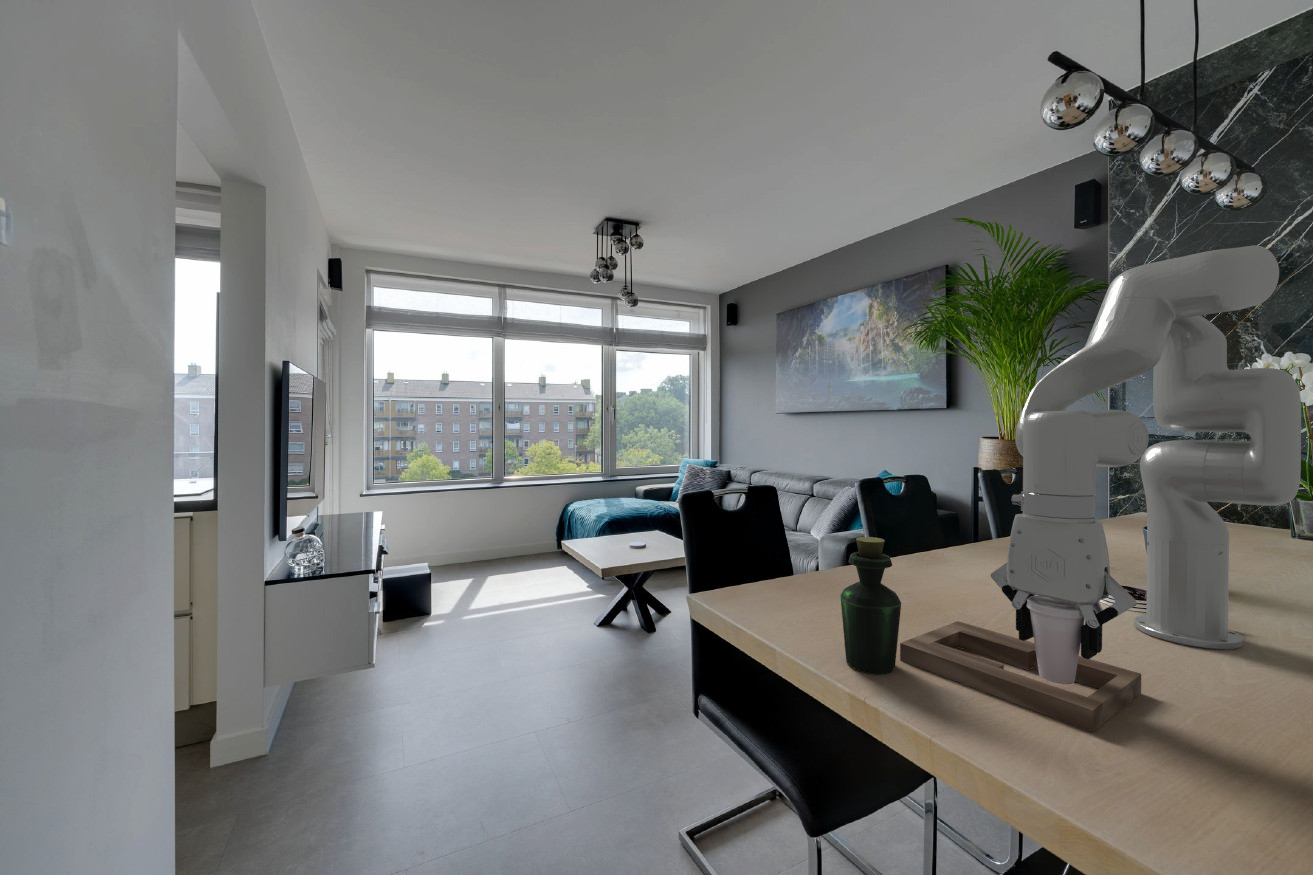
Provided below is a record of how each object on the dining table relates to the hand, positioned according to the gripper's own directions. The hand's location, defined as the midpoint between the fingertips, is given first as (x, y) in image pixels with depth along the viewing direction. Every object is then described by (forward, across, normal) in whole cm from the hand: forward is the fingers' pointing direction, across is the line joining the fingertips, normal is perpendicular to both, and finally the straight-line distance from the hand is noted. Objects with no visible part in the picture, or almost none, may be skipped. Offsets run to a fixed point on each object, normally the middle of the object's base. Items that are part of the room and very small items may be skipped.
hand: (1056, 645), depth 70 cm
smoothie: (+4, 0, 0) cm, 4 cm away
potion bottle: (+6, -18, -13) cm, 23 cm away
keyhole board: (+6, -5, 0) cm, 8 cm away
